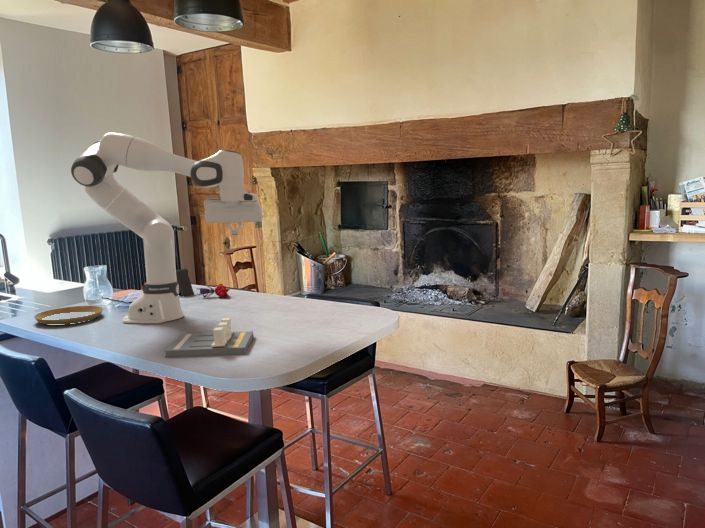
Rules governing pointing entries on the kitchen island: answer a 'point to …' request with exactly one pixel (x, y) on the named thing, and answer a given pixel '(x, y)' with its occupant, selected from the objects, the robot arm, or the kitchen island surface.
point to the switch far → (228, 325)
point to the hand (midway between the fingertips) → (235, 235)
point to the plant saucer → (67, 310)
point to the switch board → (208, 345)
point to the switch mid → (225, 330)
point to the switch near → (218, 337)
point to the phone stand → (184, 282)
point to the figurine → (219, 291)
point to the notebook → (122, 293)
